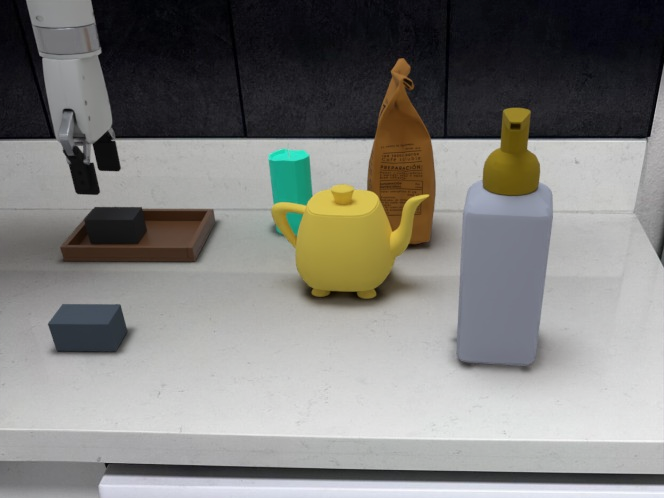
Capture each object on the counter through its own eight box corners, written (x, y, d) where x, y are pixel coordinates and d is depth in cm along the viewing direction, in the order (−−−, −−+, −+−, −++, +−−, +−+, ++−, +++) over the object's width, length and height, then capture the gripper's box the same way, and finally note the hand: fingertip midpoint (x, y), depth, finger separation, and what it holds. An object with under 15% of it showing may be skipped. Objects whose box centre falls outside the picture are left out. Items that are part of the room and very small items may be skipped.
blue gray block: (56, 351, 92) (47, 323, 90) (70, 330, 96) (62, 303, 93) (115, 351, 92) (108, 324, 90) (127, 331, 96) (120, 304, 93)
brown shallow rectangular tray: (63, 261, 111) (59, 247, 110) (96, 221, 122) (92, 208, 120) (195, 261, 110) (192, 247, 109) (215, 222, 121) (213, 209, 120)
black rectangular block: (90, 243, 114) (83, 219, 112) (100, 230, 118) (94, 206, 115) (138, 244, 114) (132, 219, 112) (147, 230, 118) (142, 206, 115)
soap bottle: (454, 365, 89) (466, 123, 72) (461, 327, 96) (472, 97, 79) (534, 370, 88) (564, 126, 71) (535, 331, 95) (563, 100, 78)
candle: (310, 237, 117) (303, 150, 109) (271, 234, 117) (261, 148, 109) (319, 221, 121) (313, 137, 113) (281, 219, 122) (273, 136, 114)
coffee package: (433, 218, 122) (437, 55, 107) (434, 250, 113) (439, 77, 98) (369, 217, 122) (364, 55, 107) (365, 250, 113) (359, 77, 98)
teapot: (423, 309, 99) (425, 209, 91) (268, 303, 101) (255, 204, 92) (431, 265, 109) (433, 171, 101) (289, 259, 111) (280, 166, 102)
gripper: (61, 26, 105) (92, 161, 117) (10, 53, 93) (50, 203, 104) (117, 28, 105) (142, 163, 117) (74, 55, 92) (107, 204, 104)
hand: (99, 181), depth 110 cm, fingers open, 9 cm apart
